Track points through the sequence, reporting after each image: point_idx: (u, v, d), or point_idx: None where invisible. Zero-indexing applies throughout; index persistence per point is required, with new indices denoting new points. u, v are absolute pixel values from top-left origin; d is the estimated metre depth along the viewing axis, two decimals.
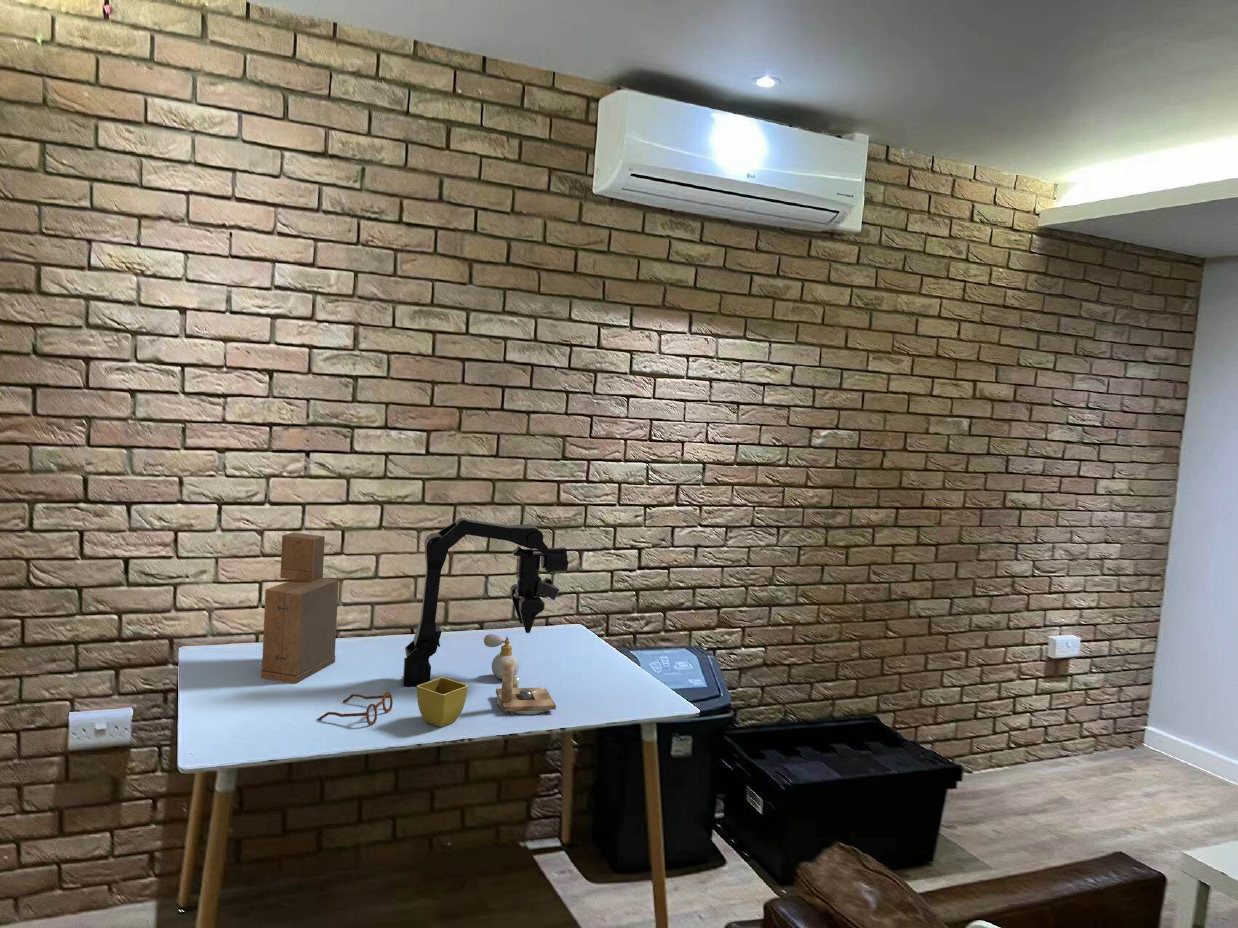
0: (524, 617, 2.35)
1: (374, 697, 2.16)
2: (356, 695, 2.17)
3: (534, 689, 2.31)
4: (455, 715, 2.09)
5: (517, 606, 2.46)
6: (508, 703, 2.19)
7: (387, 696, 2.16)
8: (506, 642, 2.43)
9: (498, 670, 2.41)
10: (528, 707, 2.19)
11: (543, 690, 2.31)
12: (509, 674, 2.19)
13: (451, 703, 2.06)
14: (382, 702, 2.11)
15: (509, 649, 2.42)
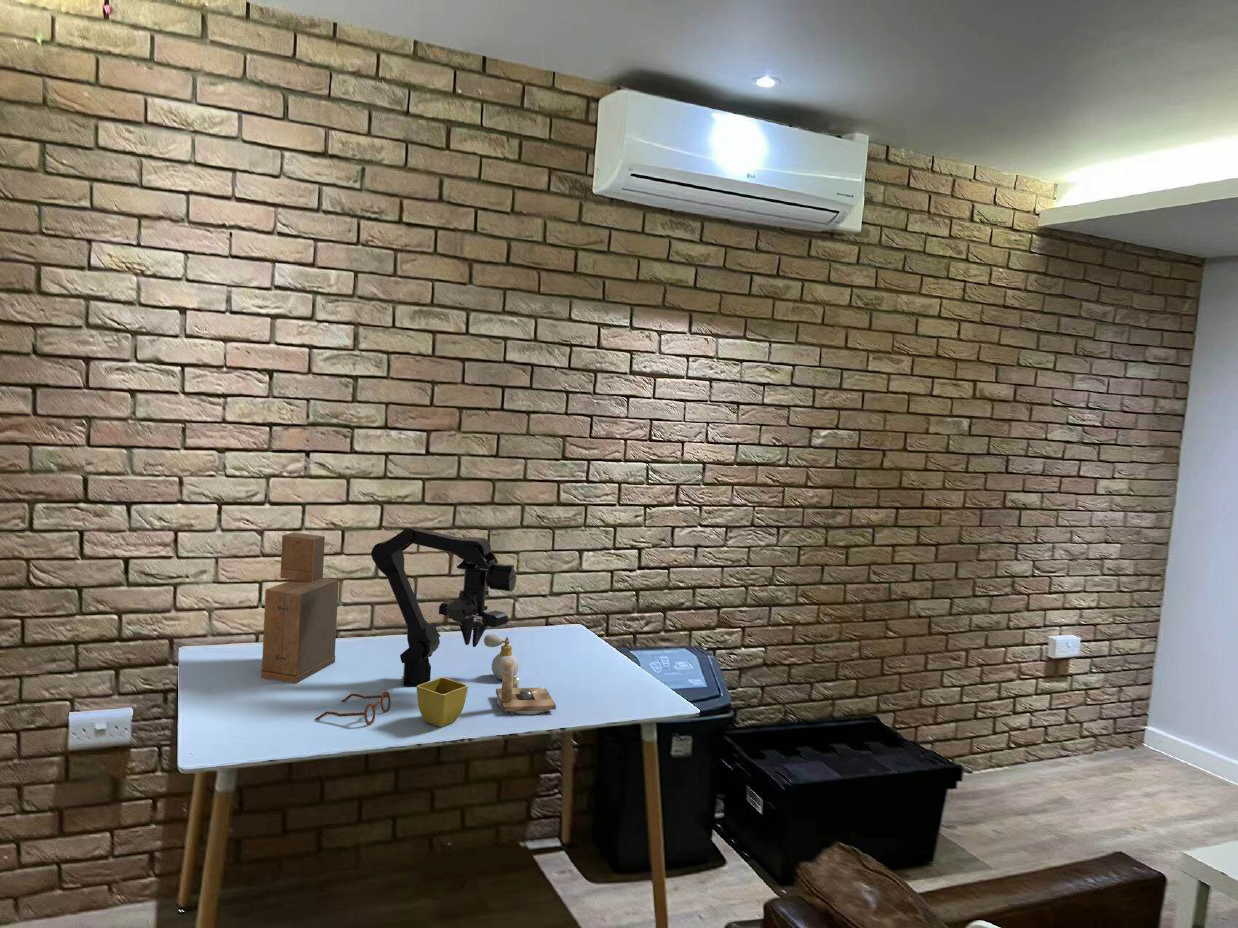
0: None
1: (372, 697, 2.16)
2: (354, 695, 2.17)
3: (534, 689, 2.31)
4: (455, 715, 2.09)
5: None
6: (508, 703, 2.19)
7: (385, 696, 2.16)
8: (506, 642, 2.43)
9: (498, 670, 2.41)
10: (528, 707, 2.19)
11: (543, 690, 2.31)
12: (509, 674, 2.19)
13: (451, 703, 2.06)
14: (380, 702, 2.11)
15: (509, 649, 2.42)
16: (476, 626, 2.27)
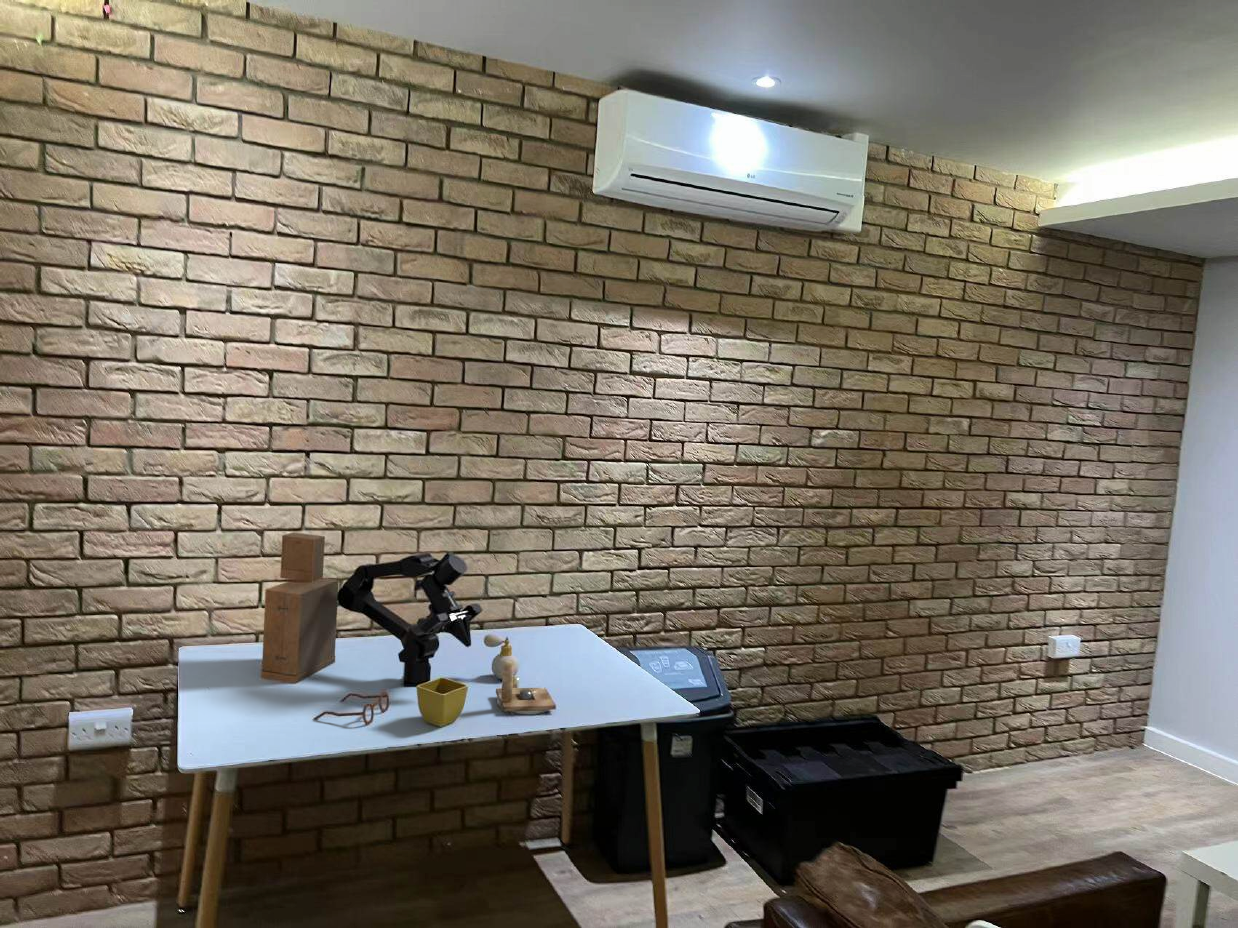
0: None
1: (371, 697, 2.16)
2: (353, 695, 2.17)
3: (534, 689, 2.31)
4: (455, 715, 2.09)
5: None
6: (508, 703, 2.19)
7: (384, 696, 2.16)
8: (506, 642, 2.43)
9: (498, 670, 2.41)
10: (528, 707, 2.19)
11: (543, 690, 2.31)
12: (509, 674, 2.19)
13: (451, 703, 2.06)
14: (379, 702, 2.11)
15: (509, 649, 2.42)
16: None
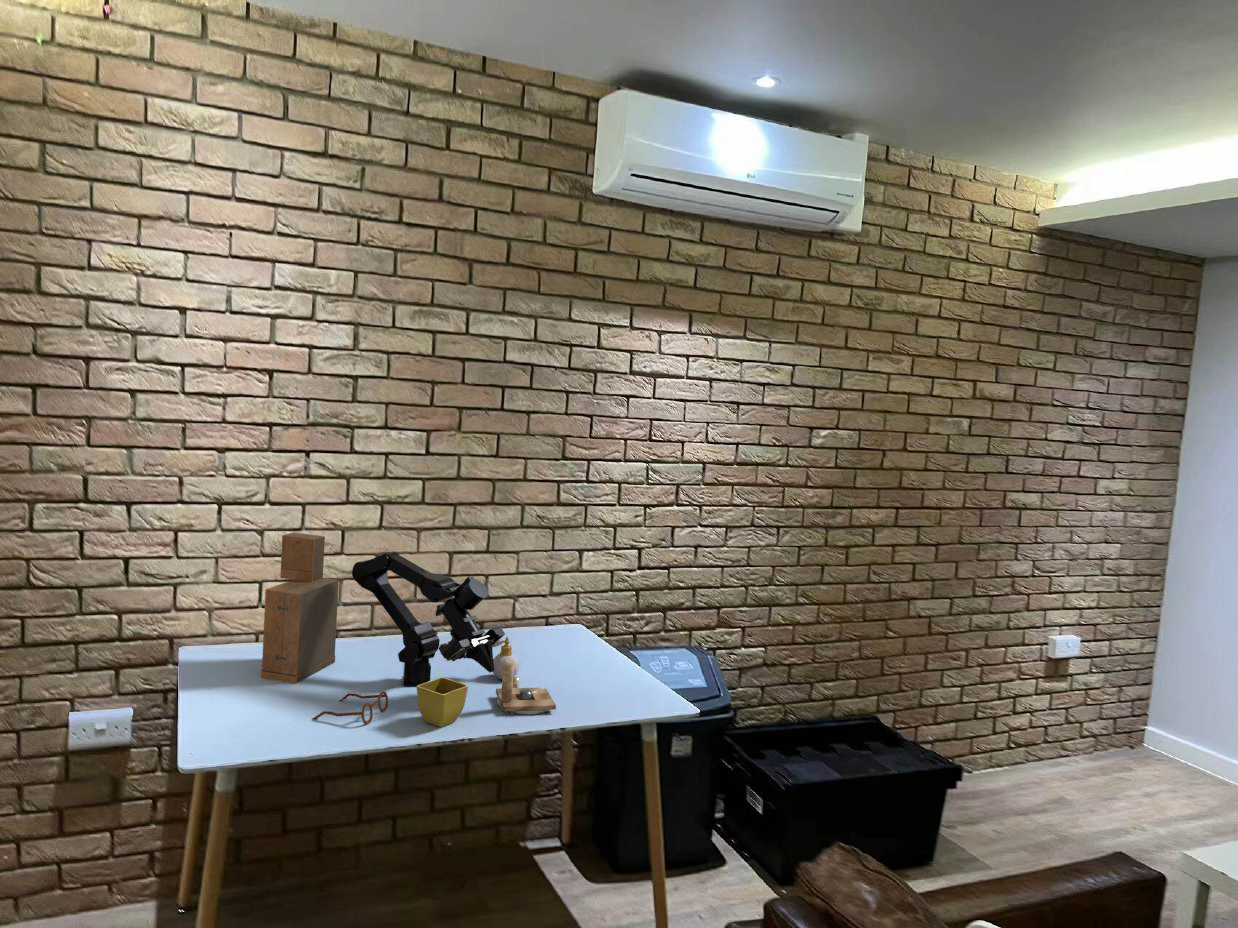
0: None
1: (370, 696, 2.16)
2: (352, 694, 2.17)
3: (534, 689, 2.31)
4: (455, 715, 2.09)
5: None
6: (508, 703, 2.19)
7: (383, 695, 2.16)
8: (506, 642, 2.43)
9: (498, 670, 2.41)
10: (528, 707, 2.19)
11: (543, 690, 2.31)
12: (509, 674, 2.19)
13: (451, 703, 2.06)
14: (378, 701, 2.11)
15: (509, 649, 2.42)
16: None
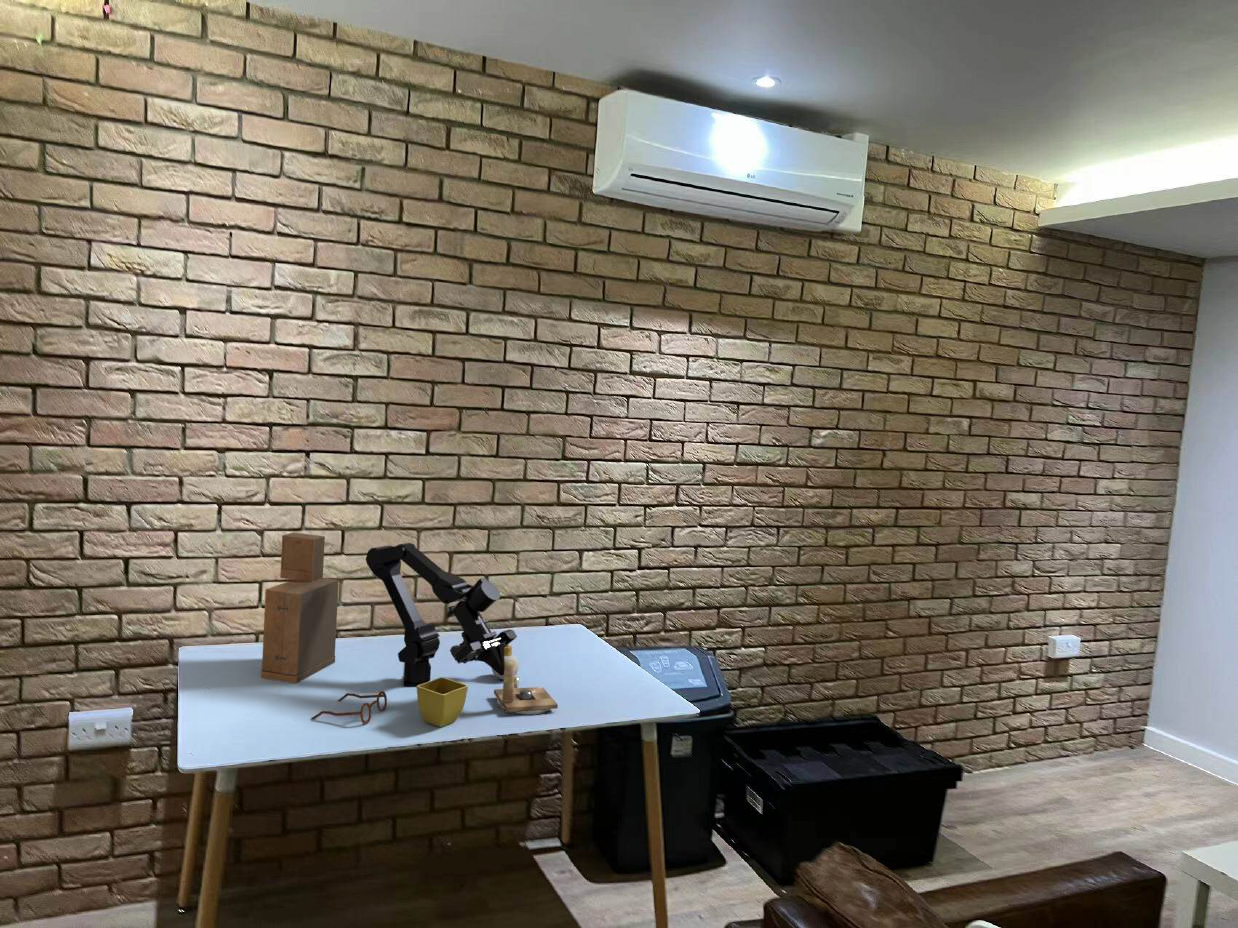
0: None
1: (368, 696, 2.16)
2: (350, 694, 2.17)
3: (532, 689, 2.31)
4: (455, 715, 2.09)
5: None
6: (510, 704, 2.19)
7: (381, 695, 2.16)
8: None
9: None
10: (530, 707, 2.19)
11: (541, 689, 2.31)
12: (510, 674, 2.19)
13: (451, 703, 2.06)
14: (376, 701, 2.11)
15: (509, 649, 2.42)
16: None
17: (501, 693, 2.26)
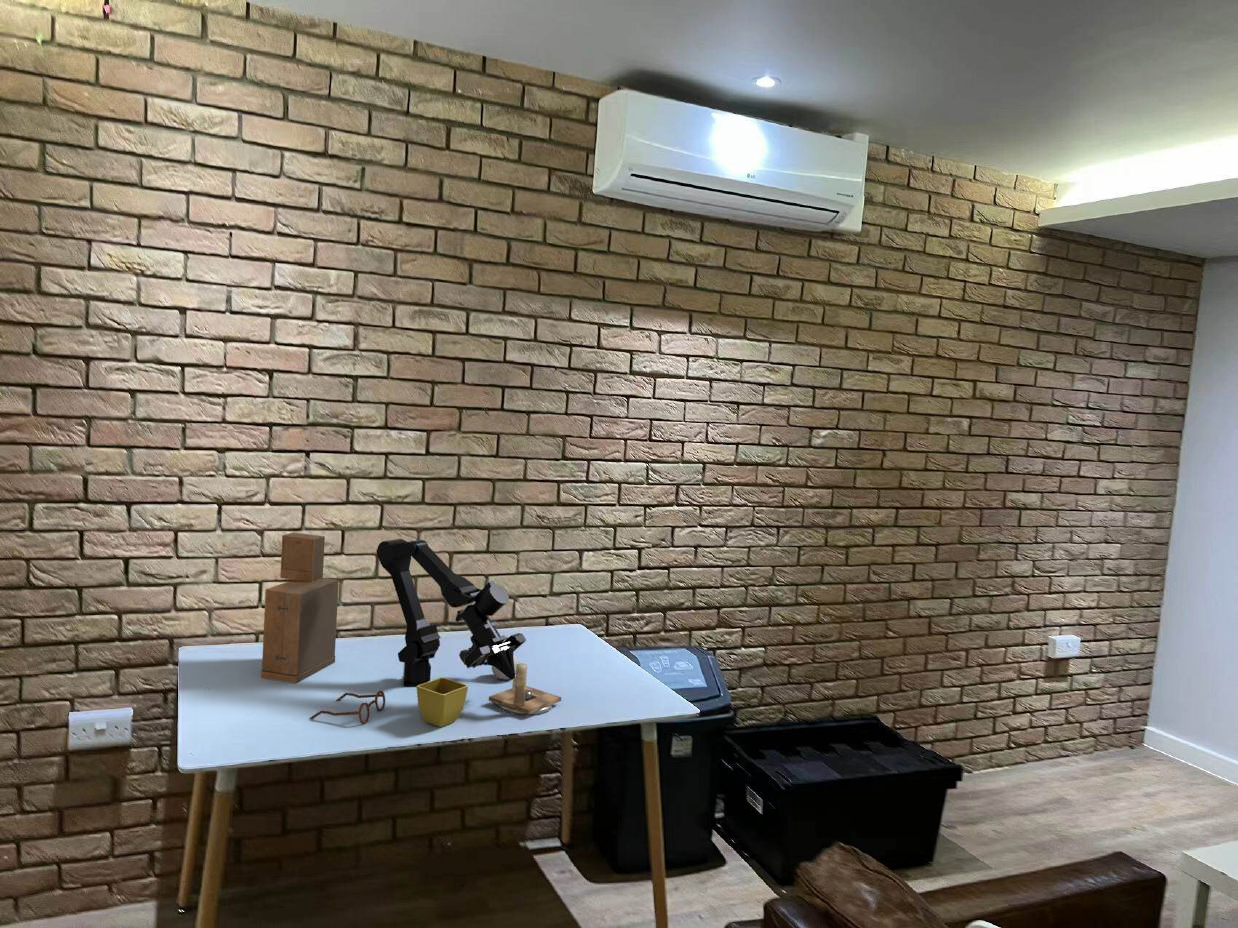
0: None
1: (367, 696, 2.17)
2: (349, 694, 2.17)
3: None
4: (455, 715, 2.09)
5: None
6: (525, 706, 2.18)
7: (380, 695, 2.16)
8: None
9: (498, 670, 2.41)
10: (544, 705, 2.21)
11: (526, 687, 2.32)
12: (525, 677, 2.18)
13: (451, 703, 2.06)
14: (375, 701, 2.11)
15: None
16: None
17: (501, 698, 2.22)
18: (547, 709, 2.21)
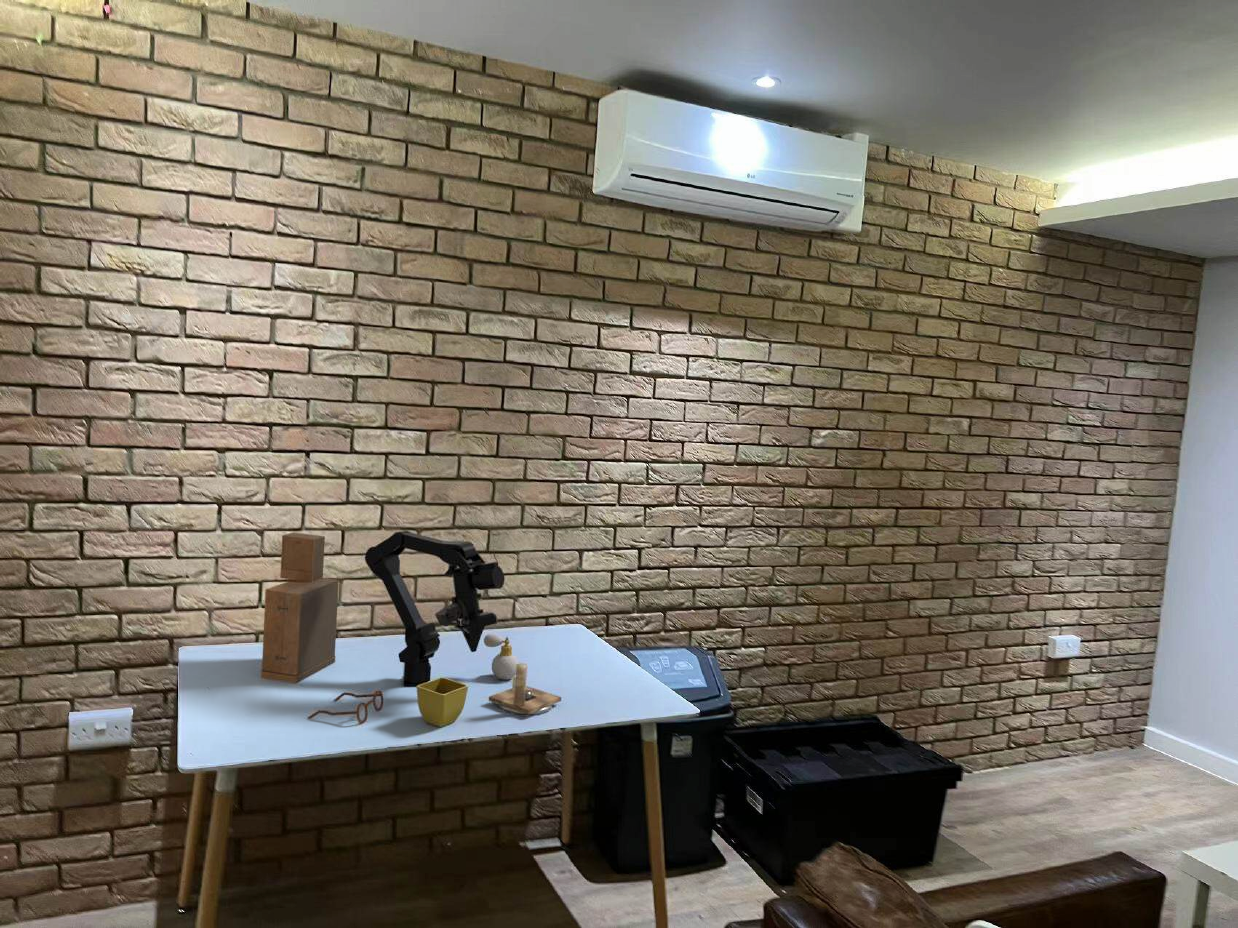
0: None
1: (365, 696, 2.17)
2: (347, 694, 2.18)
3: None
4: (455, 715, 2.09)
5: None
6: (525, 706, 2.18)
7: (378, 695, 2.16)
8: (506, 642, 2.43)
9: (498, 670, 2.41)
10: (544, 705, 2.21)
11: (526, 687, 2.32)
12: (525, 677, 2.18)
13: (451, 703, 2.06)
14: (373, 701, 2.11)
15: (509, 649, 2.42)
16: (466, 630, 2.24)
17: (501, 698, 2.22)
18: (547, 709, 2.21)
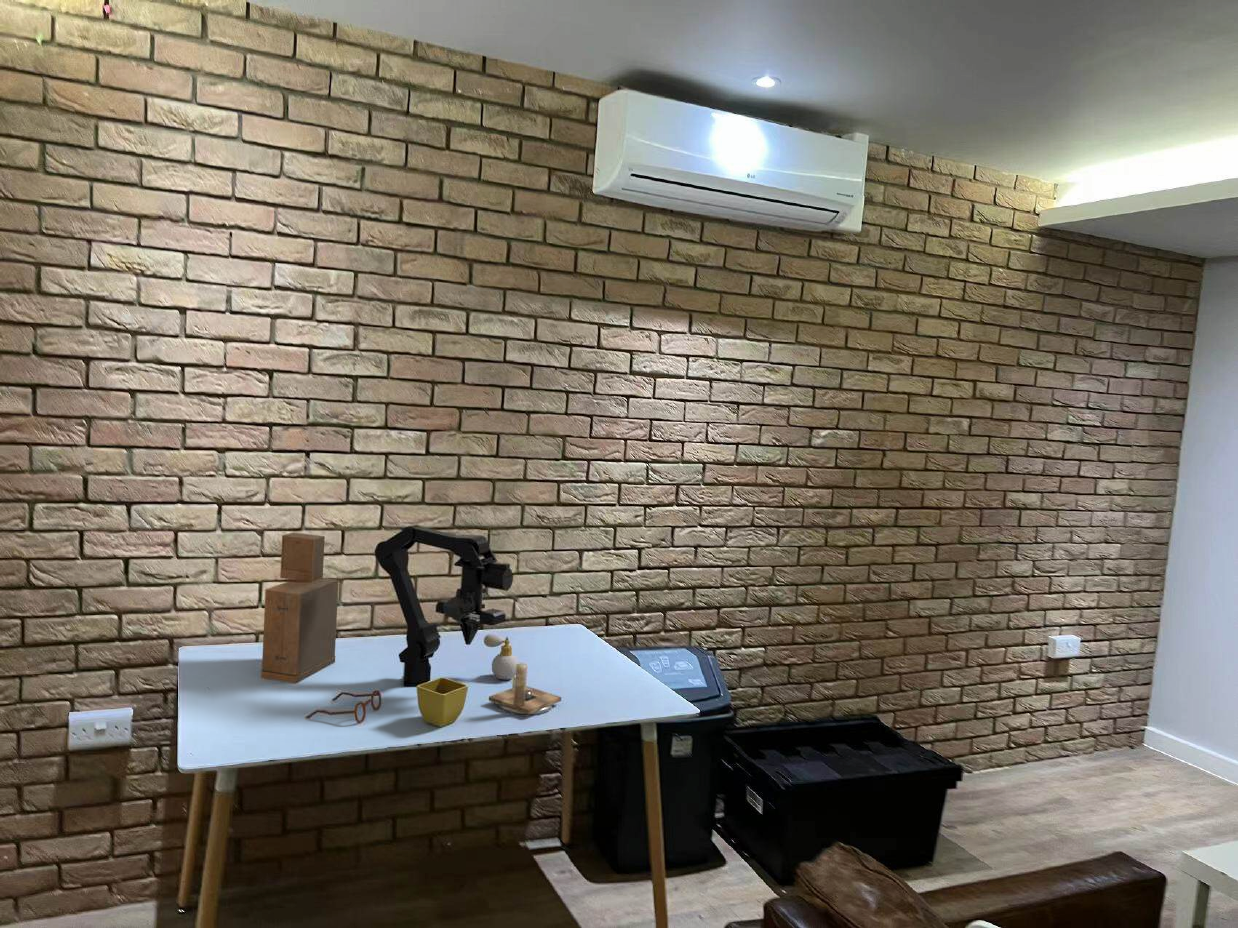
0: None
1: (363, 695, 2.17)
2: (345, 693, 2.18)
3: None
4: (455, 715, 2.09)
5: None
6: (525, 706, 2.18)
7: (376, 694, 2.16)
8: (506, 642, 2.43)
9: (498, 670, 2.41)
10: (544, 705, 2.21)
11: (526, 687, 2.32)
12: (525, 677, 2.18)
13: (451, 703, 2.06)
14: (371, 700, 2.12)
15: (509, 649, 2.42)
16: (470, 624, 2.25)
17: (501, 698, 2.22)
18: (547, 709, 2.21)
